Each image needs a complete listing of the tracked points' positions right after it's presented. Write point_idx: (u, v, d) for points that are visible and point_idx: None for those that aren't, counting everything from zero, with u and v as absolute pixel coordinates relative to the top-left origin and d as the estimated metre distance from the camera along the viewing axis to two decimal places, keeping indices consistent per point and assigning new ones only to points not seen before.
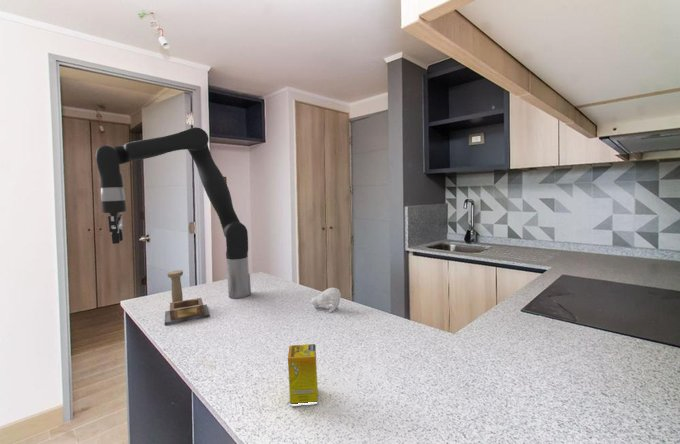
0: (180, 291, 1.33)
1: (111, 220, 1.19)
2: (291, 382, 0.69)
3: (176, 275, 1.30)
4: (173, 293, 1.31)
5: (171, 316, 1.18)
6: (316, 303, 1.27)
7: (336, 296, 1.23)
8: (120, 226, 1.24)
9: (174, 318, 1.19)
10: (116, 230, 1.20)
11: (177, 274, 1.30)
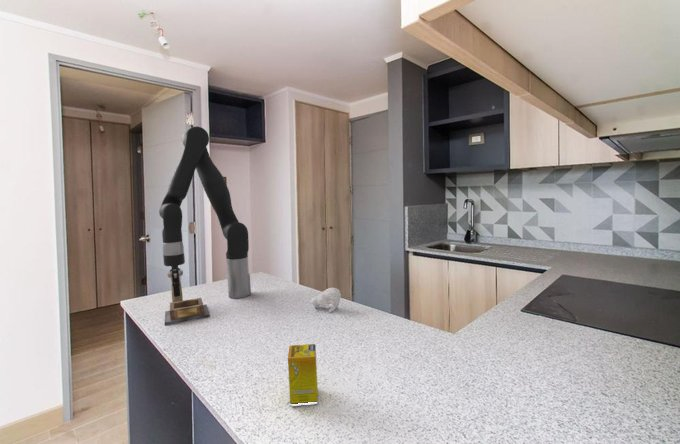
0: (180, 291, 1.33)
1: (174, 277, 1.27)
2: (291, 382, 0.69)
3: None
4: (173, 293, 1.31)
5: (171, 316, 1.18)
6: (316, 303, 1.27)
7: (336, 296, 1.23)
8: (180, 278, 1.32)
9: (174, 318, 1.19)
10: (178, 285, 1.29)
11: None
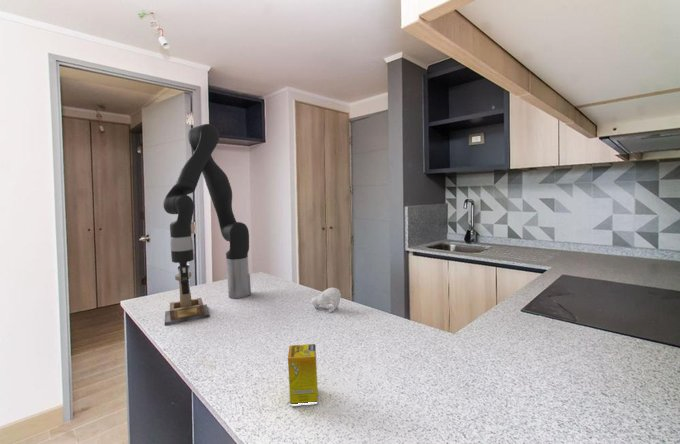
0: (189, 294, 1.24)
1: (183, 272, 1.17)
2: (291, 382, 0.69)
3: None
4: (181, 297, 1.23)
5: (171, 316, 1.18)
6: (316, 303, 1.27)
7: (336, 296, 1.23)
8: (189, 276, 1.22)
9: (174, 318, 1.19)
10: (187, 282, 1.18)
11: None
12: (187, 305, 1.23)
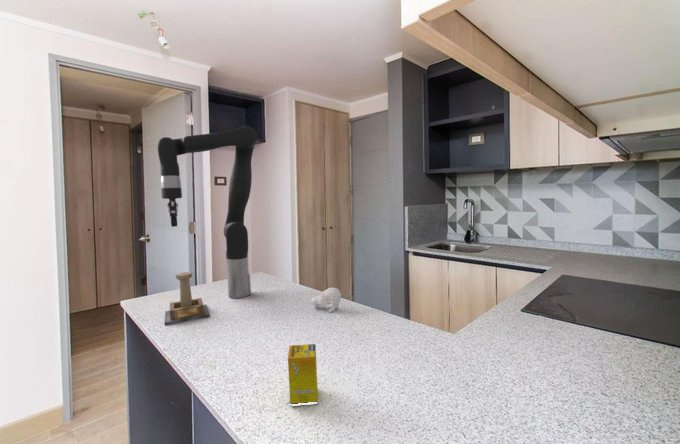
0: (189, 294, 1.24)
1: (171, 205, 1.31)
2: (291, 382, 0.69)
3: (185, 277, 1.22)
4: (182, 296, 1.23)
5: (171, 316, 1.18)
6: (316, 303, 1.27)
7: (336, 296, 1.23)
8: (177, 211, 1.36)
9: (174, 318, 1.19)
10: (175, 214, 1.32)
11: (186, 276, 1.22)
12: (187, 305, 1.24)
